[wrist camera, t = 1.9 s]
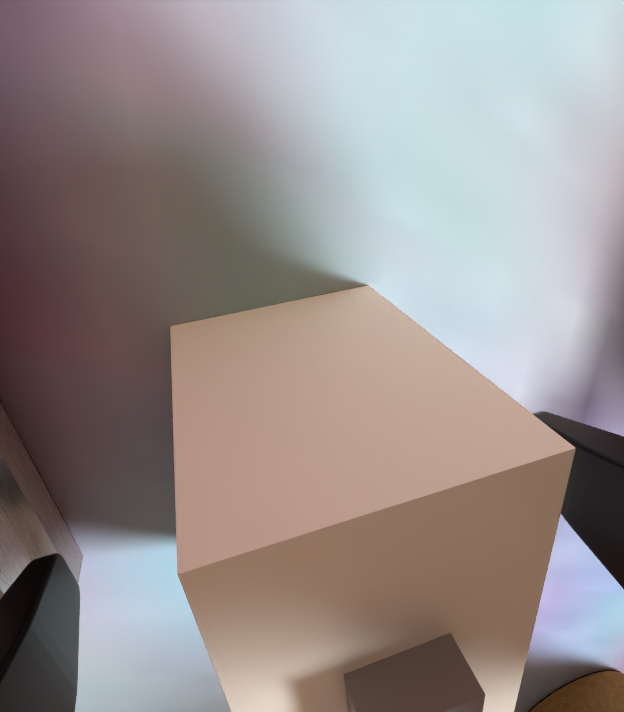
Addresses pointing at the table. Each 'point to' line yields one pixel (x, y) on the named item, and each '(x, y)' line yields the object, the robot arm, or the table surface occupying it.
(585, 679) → the plant pot
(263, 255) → the table surface
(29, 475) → the rail
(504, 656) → the block
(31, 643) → the robot arm
